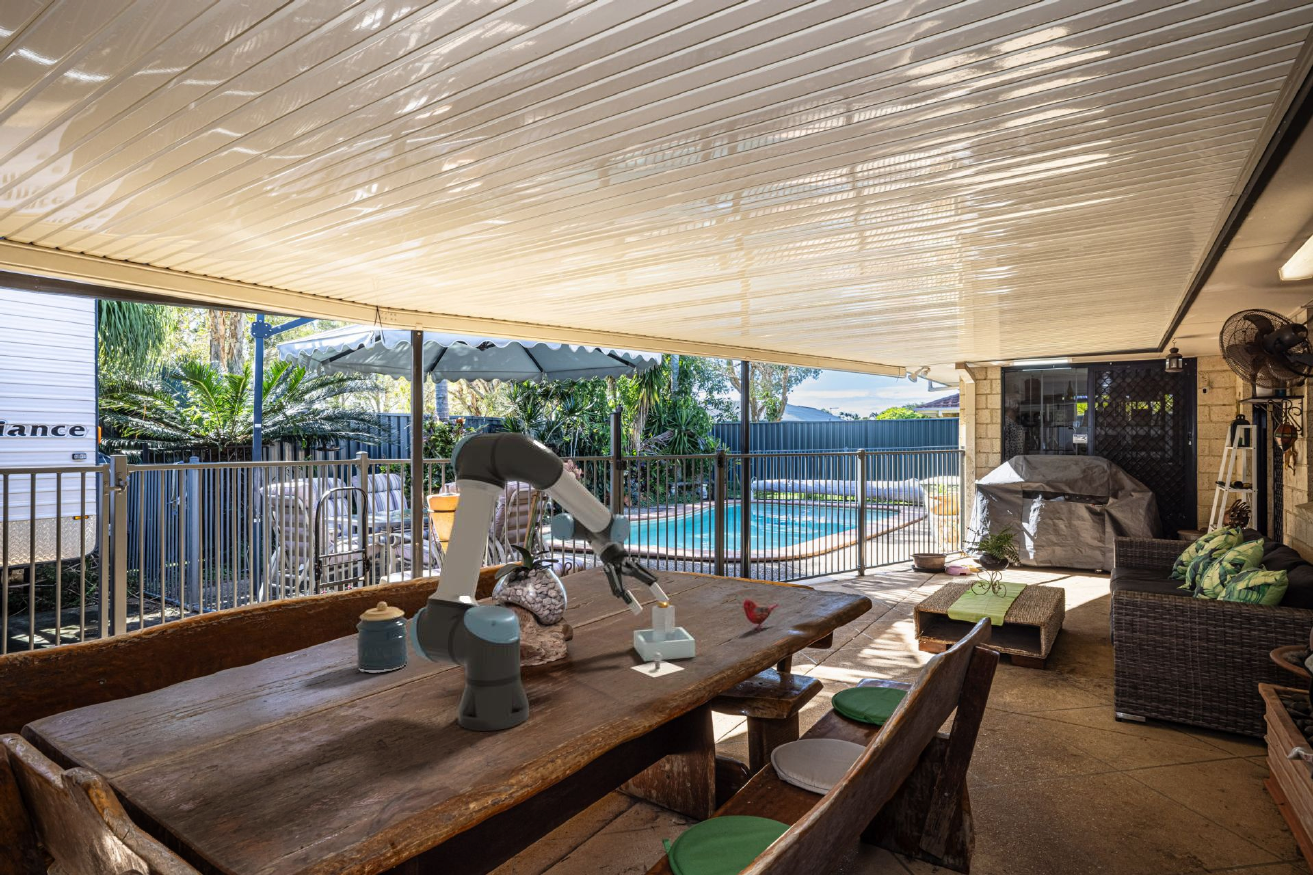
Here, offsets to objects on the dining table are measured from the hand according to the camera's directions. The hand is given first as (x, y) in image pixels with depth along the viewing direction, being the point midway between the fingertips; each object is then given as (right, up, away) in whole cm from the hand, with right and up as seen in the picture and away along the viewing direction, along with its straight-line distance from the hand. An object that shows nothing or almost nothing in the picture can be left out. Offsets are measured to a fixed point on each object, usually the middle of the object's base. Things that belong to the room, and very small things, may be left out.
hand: (653, 607), depth 203 cm
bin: (+3, -13, -2) cm, 14 cm away
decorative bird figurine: (+34, -13, +27) cm, 45 cm away
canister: (-73, -15, -7) cm, 75 cm away
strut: (+3, -12, -3) cm, 13 cm away
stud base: (+1, -13, -17) cm, 22 cm away
